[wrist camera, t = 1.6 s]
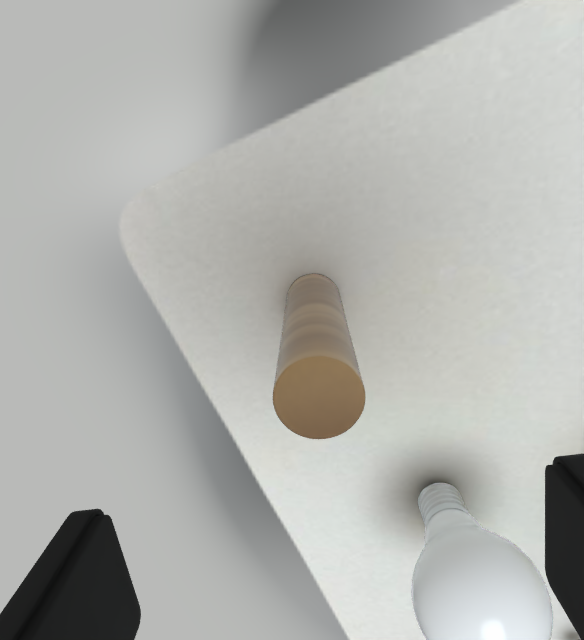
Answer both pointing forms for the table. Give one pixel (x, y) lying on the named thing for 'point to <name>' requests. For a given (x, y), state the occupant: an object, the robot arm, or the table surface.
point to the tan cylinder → (317, 363)
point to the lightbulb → (474, 578)
